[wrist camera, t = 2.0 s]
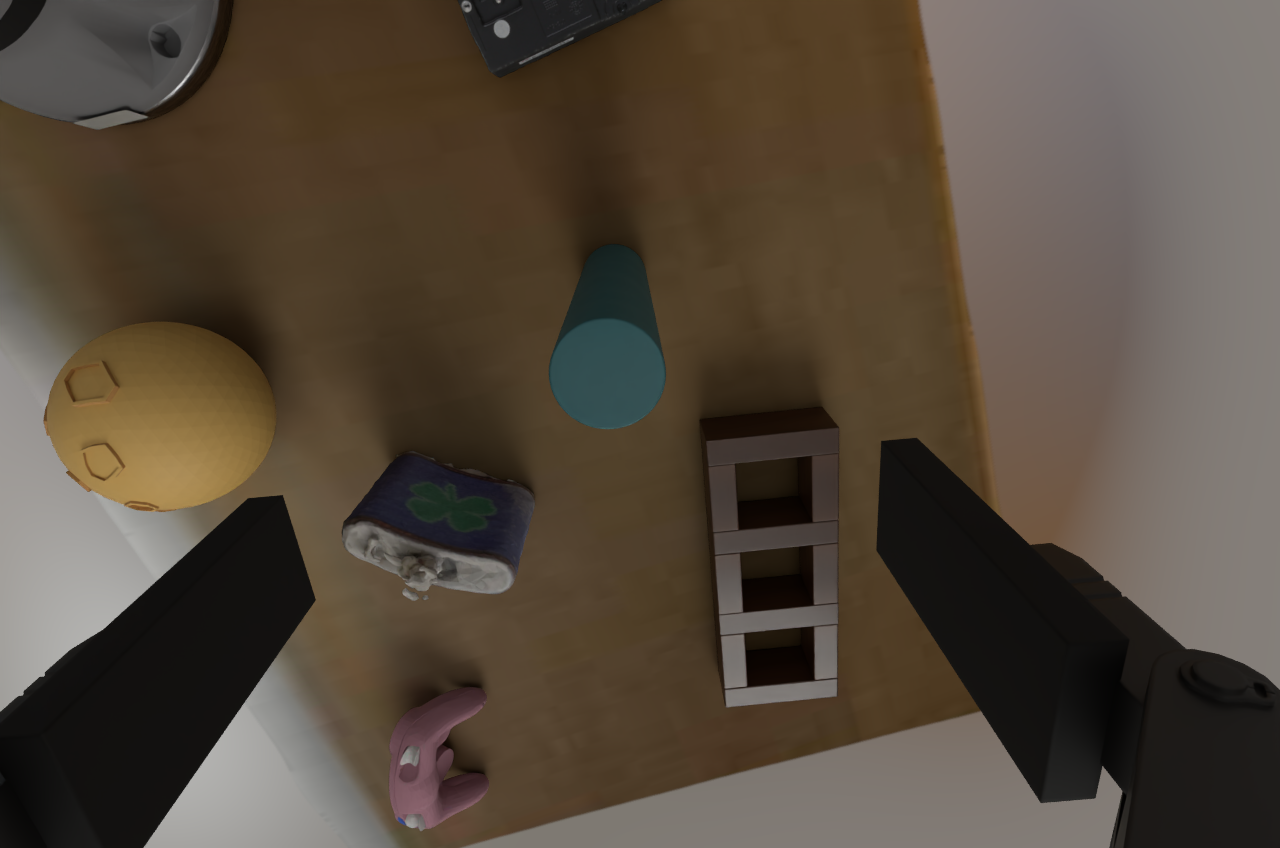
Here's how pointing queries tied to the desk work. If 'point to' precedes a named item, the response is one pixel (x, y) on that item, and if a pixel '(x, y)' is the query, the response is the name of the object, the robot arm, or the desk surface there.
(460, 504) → the flask
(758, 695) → the pen block
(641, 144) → the desk surface
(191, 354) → the stress ball
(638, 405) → the dowel
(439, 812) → the video game controller
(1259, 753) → the robot arm
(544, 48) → the disk drive
